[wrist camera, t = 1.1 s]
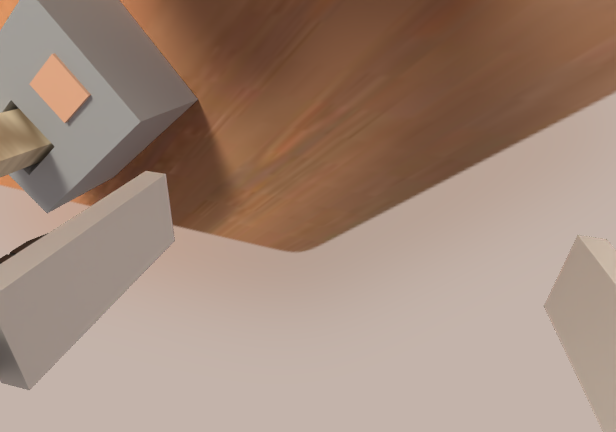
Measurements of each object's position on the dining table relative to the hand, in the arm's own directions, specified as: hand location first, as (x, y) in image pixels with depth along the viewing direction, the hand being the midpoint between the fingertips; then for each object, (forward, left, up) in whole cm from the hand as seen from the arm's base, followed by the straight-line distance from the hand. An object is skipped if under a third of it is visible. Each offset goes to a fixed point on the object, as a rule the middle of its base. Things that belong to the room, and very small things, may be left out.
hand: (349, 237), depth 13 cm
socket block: (-17, -24, -27) cm, 40 cm away
